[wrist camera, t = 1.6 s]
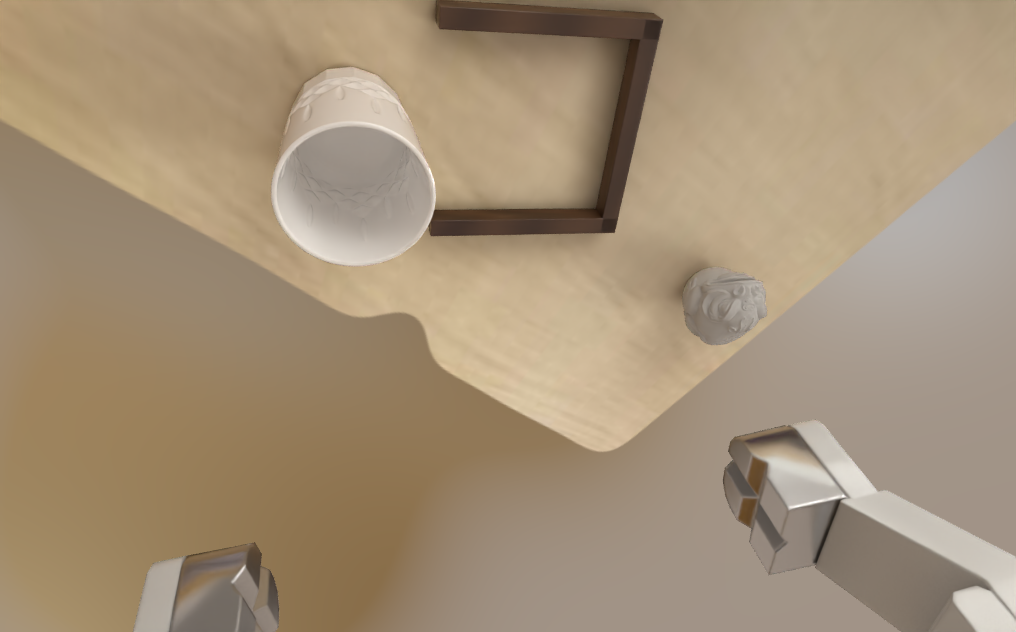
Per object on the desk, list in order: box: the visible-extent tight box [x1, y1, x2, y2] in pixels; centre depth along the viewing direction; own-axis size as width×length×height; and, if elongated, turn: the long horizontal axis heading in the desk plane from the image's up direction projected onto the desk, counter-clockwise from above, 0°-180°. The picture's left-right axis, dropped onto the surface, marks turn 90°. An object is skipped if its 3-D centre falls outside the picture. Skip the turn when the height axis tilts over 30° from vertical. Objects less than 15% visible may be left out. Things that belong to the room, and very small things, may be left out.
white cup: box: [271, 67, 436, 266], centre depth 37 cm, size 8×8×10 cm
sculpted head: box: [682, 267, 767, 345], centre depth 52 cm, size 6×7×7 cm
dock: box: [428, 0, 663, 236], centre depth 43 cm, size 13×14×2 cm
